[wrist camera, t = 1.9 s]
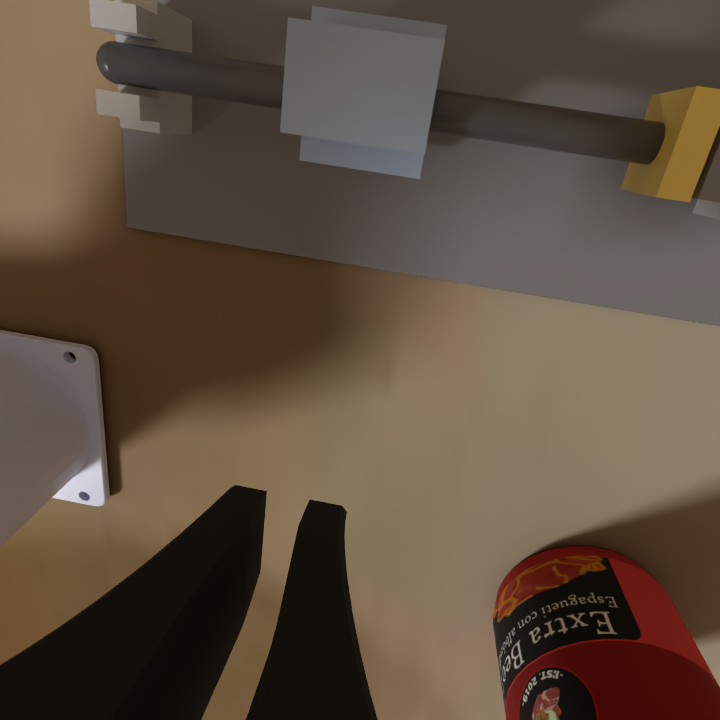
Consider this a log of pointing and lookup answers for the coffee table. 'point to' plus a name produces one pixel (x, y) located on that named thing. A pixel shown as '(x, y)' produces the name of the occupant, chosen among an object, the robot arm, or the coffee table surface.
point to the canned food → (596, 643)
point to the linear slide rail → (445, 145)
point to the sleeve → (361, 89)
